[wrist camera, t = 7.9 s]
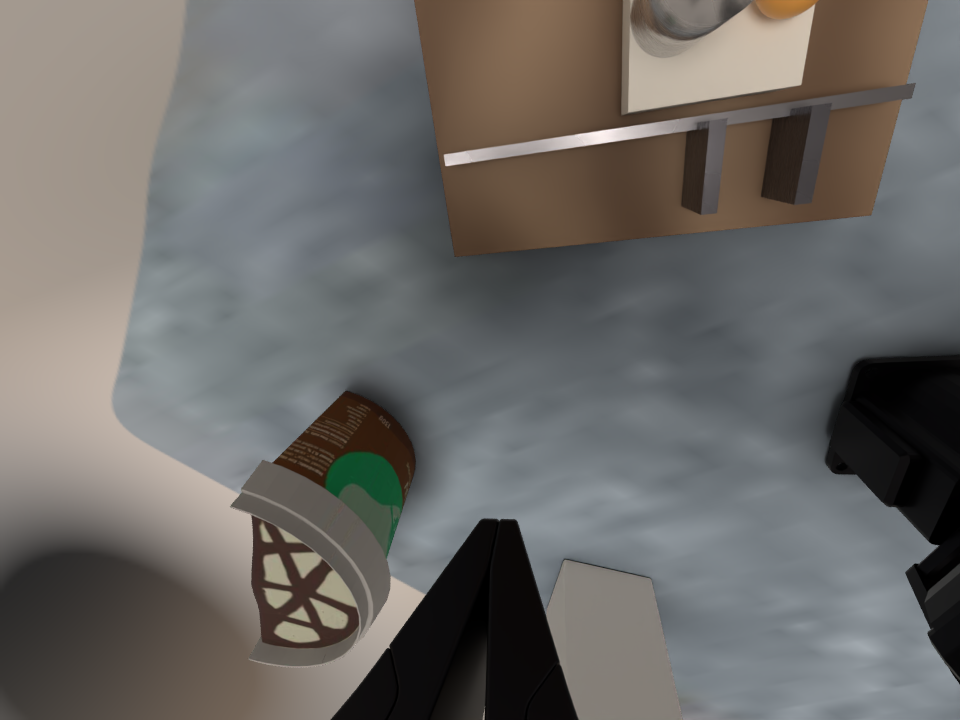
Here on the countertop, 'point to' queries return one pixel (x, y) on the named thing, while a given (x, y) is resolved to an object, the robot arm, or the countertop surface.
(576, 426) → the countertop surface
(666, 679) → the milk
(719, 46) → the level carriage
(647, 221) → the stand
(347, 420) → the food container
